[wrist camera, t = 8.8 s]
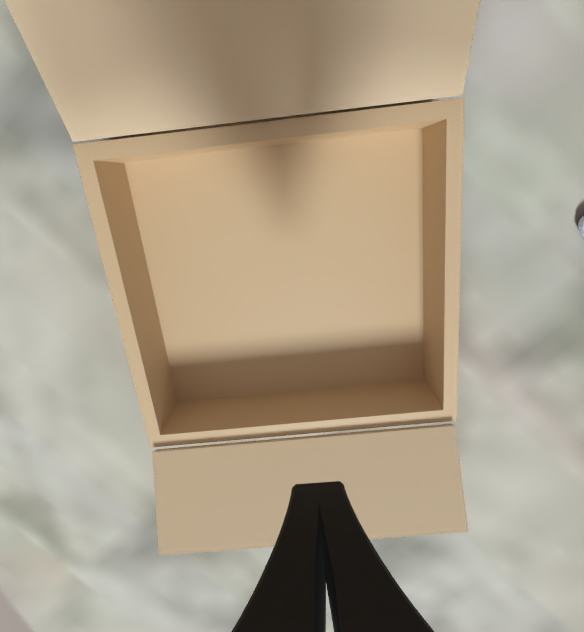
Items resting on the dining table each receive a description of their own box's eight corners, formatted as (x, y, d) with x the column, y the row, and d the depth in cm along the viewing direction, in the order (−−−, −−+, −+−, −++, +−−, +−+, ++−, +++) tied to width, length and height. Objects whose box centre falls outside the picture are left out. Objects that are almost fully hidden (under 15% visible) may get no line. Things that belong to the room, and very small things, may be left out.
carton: (432, 112, 18) (464, 97, 14) (431, 383, 22) (456, 420, 18) (113, 150, 18) (72, 144, 15) (172, 407, 22) (150, 447, 19)
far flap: (468, 531, 18) (464, 526, 18) (454, 425, 18) (450, 423, 19) (159, 555, 18) (163, 549, 19) (152, 452, 19) (156, 449, 19)
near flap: (462, 95, 14) (457, 90, 14) (496, -91, 11) (489, -91, 11) (73, 141, 14) (77, 136, 15) (-6, -22, 11) (2, -24, 12)
